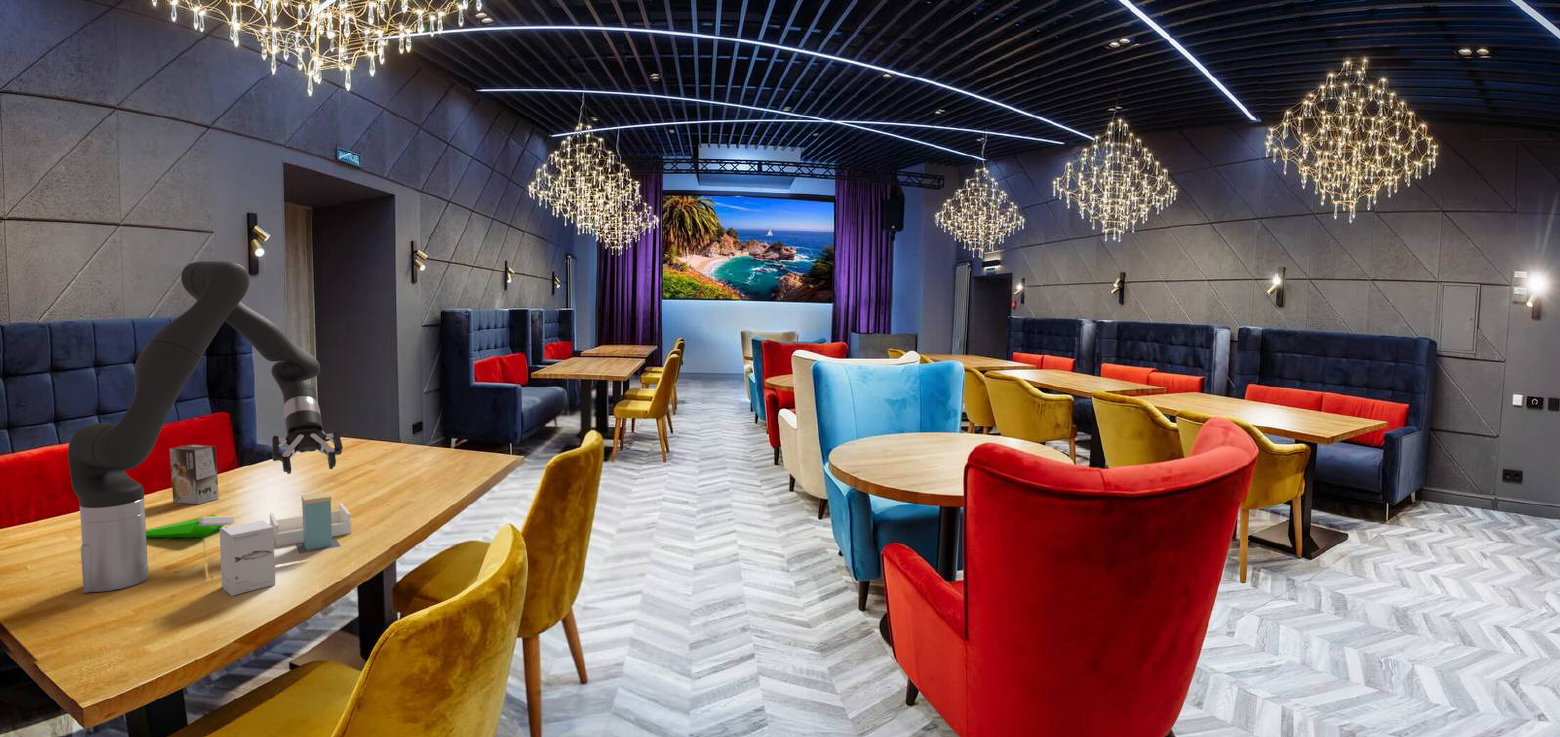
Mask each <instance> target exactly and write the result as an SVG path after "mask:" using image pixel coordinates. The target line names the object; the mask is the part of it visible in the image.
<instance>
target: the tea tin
mask: <svg viewBox="0 0 1560 737" xmlns="http://www.w3.org/2000/svg"><path fill="white" fill-rule="evenodd" d="M331 502H332V495H331V494H330V493H329V492H328V491H325V492H317V493H311V494H310V493H309V494H302V495H301V503H302V504H301V508H302V516H303V539H304V542H303V543H304V546H305V548H306V550H309V549H315V548H320V547H326V546H331V545H332V525H331V511H332V503H331Z"/></svg>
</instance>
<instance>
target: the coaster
mask: <svg viewBox="0 0 1560 737" xmlns="http://www.w3.org/2000/svg"><path fill="white" fill-rule="evenodd" d="M294 545H295V547H296V549H297V551H298V553H299V554H301V555H302V554H306V553H311V552H316V551H320V550H328V549H332V548H339V547H341V544H340V542H339V541H338V539H337V538H336V536H333V537H332V545H331V546H326V547H320V548H315V549H309V550H306V548H305V546H304V542H299V543H294Z"/></svg>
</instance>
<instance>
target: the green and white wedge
mask: <svg viewBox="0 0 1560 737" xmlns="http://www.w3.org/2000/svg"><path fill="white" fill-rule="evenodd" d="M234 523H235V517H234V516H230V515H229V516H219V515H215V514H210V515H205V516H201V517H196V518H193V519H187V520H183V521H180V522H179V521H178V522H174V523H170V524H166V525H161V526H156V527H152V528H148V529H147V528H146V539H147V538H151V539H152V538H153V539H154V538H156V537H182V538H206V536H207V535H210V534H212V533H213V532H215V531H217V530H220V528H223V527H225V526H231V525H232V524H234ZM156 539H157V538H156Z"/></svg>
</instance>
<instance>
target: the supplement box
mask: <svg viewBox="0 0 1560 737" xmlns="http://www.w3.org/2000/svg"><path fill="white" fill-rule="evenodd" d="M219 548H220V554H219V555H220V572H221V574H220V575H221V577H220V578H221V587H222V588H223V589H224V590H225V591H226V592H227V593H228V594H229V595H230V596H231V597H233V596H236V595H239V594H240V595H241V594H244V593H248V592H251V591H255V590H259V589H263V588H268V587H272V586H275V585H276V568H275V567H276V564H275V542H274V527H273V526H271V525H270V523H269V522H266V521H265V520H263V519H261V520H257V521H256V520H255V521H251V522H245V523H240V524H239V523H238V524H235V525H227V526H223V527H222V528H220V529H219Z"/></svg>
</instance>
